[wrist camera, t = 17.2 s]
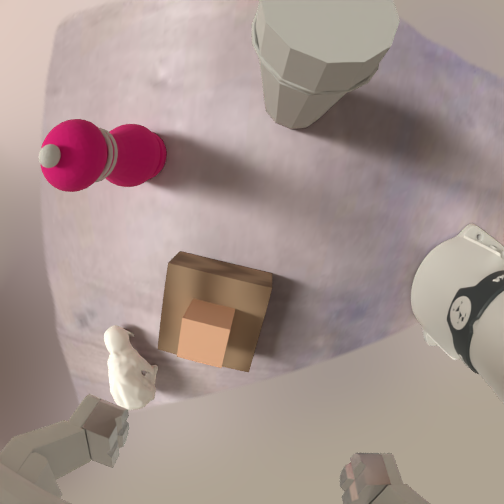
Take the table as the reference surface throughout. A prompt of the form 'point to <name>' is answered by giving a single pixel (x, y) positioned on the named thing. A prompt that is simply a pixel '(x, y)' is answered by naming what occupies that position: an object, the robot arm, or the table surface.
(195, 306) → the terracotta cube
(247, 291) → the walnut stand
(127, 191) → the table surface
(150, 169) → the pepper mill
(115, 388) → the penguin figurine
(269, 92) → the water bottle
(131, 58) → the table surface
